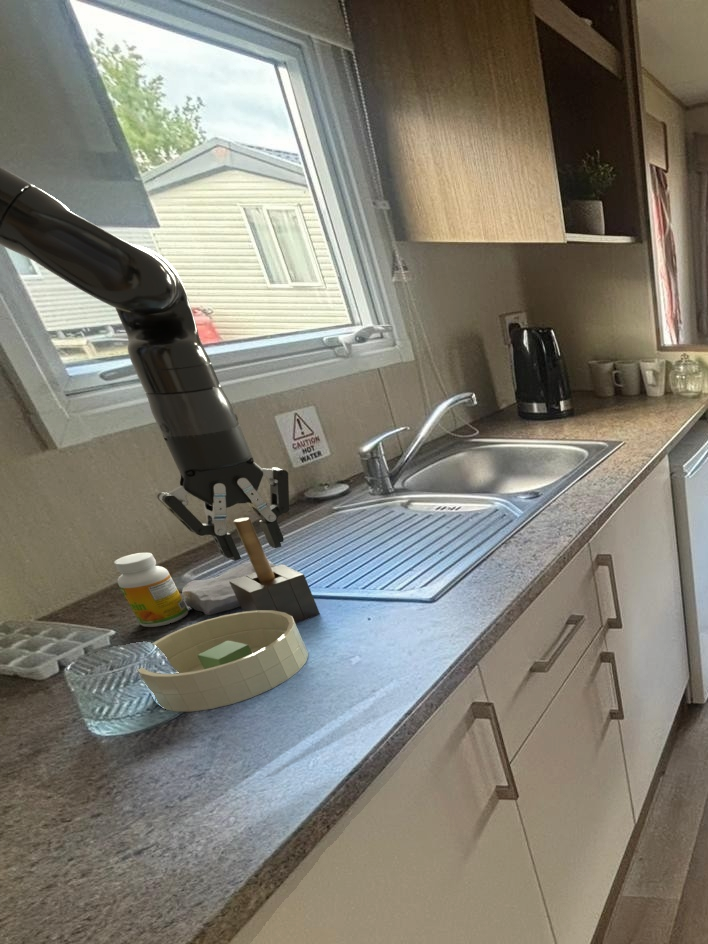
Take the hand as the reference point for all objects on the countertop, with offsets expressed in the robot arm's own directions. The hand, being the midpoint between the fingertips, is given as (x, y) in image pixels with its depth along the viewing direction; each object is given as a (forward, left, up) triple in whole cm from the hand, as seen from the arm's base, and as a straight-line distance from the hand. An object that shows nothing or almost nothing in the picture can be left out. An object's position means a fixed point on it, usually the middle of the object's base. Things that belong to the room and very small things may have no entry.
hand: (255, 552), depth 89 cm
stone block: (0, +13, -11) cm, 17 cm away
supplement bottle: (-9, +16, -11) cm, 21 cm away
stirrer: (0, 0, -11) cm, 11 cm away
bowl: (-10, -11, -11) cm, 18 cm away
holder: (0, 0, -11) cm, 11 cm away
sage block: (-10, -11, -10) cm, 18 cm away
